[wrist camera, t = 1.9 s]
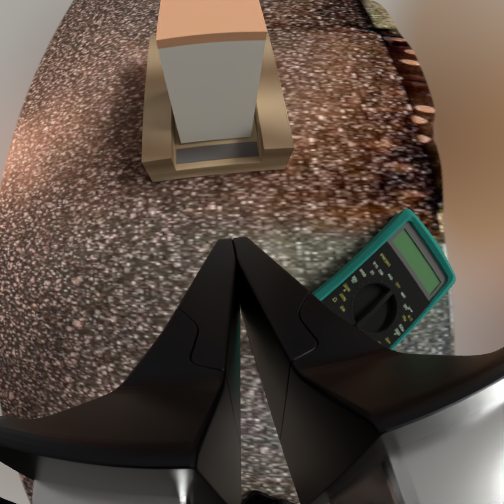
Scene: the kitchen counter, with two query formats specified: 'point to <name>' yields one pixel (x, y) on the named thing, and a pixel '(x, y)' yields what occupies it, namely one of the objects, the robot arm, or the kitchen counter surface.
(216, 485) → the robot arm
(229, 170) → the open taupe tray
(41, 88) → the kitchen counter surface
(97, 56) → the kitchen counter surface
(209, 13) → the switch tab
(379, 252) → the digital multimeter
